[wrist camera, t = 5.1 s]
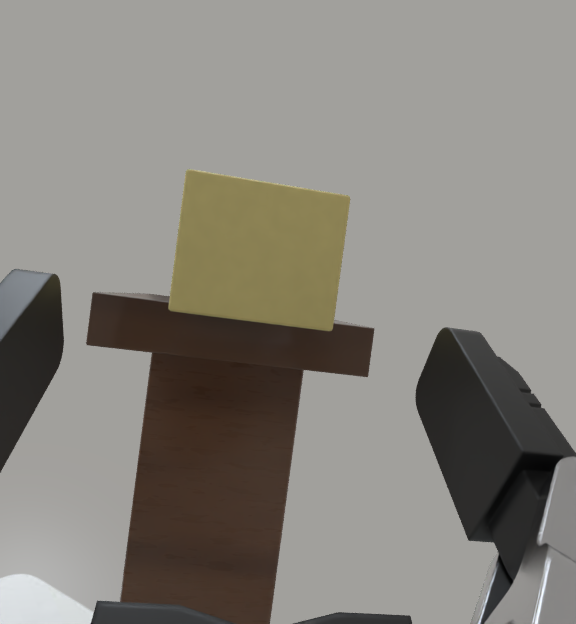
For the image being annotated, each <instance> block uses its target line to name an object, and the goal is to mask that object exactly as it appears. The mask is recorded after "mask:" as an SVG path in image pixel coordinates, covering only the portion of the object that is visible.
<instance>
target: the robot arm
mask: <svg viewBox="0 0 576 624" xmlns="http://www.w3.org/2000/svg"><path fill="white" fill-rule="evenodd" d="M62 320H63V319H62V303H61V287H60V280H59V278H58V276H57V275H56V274H49V273H43V272H35V271H28V270H20V269H14V270H12V271H11V272H10V273H9V274H8V275H7V276H6V277H5V278H4V279H3V281H2V282H1V283H0V472H1V470H2V468H3V467H4V465H5V463H6V461H7V459H8V458H9V456H10V454H11V452H12V450H13V449H14V447H15V445H16V443H17V441H18V440H19V438H20V436H21V434H22V432H23V431H24V429H25V427H26V425H27V423H28V421H29V420H30V418H31V416H32V414H33V413H34V411H35V408H36V407H37V405H38V403H39V402H40V400H41V398H42V396H43V394H44V393H45V391H46V389H47V387H48V385H49V384H50V382H51V380H52V378H53V376H54V375H55V373H56V371H57V369H58V367H59V364H60V361H61V358H62V353H63V345H64V336H63V321H62ZM416 406H417V410H418V413H419V415H420V418H421V420H422V423H423V425H424V428H425V431H426V433H427V436H428V438H429V441H430V443H431V446H432V448H433V451H434V453H435V456H436V459H437V461H438V464H439V466H440V469H441V471H442V474H443V476H444V479H445V482H446V484H447V487H448V489H449V492H450V494H451V497H452V499H453V502H454V505H455V507H456V509H457V512H458V515H459V517H460V520H461V522H462V525H463V527H464V530H465V533H466V535H467V538H468V540H469V541H482V542H494V543H495V545H496V548H497V550H498V552H497V554H496V555H495V557H494V558H493V560H492V562H491V564H490V567H489V570H488V573H487V576H486V579H485V582H484V584H483V588H482V590H481V594H480V596H479V599H478V602H477V605H476V608H475V611H474V615H473V617H472V621H471V624H576V453H575V452H574V450H573V449H572V448H571V446H570V445H569V443H568V442H567V440H566V439H565V437H564V436H563V435H562V433H561V432H560V430H559V429H558V428H557V426H556V425H555V423H554V422H553V421H552V419H551V418H550V416H549V415H548V413H547V412H546V411H545V409H543V408H541V404H540V402H539V401H538V399H537V398H536V397H535V395H534V394H531V390H530V388H529V387H528V385H527V384H526V382H525V381H524V380H523V378H522V377H521V375H520V374H519V373H518V372H517V371H516V370H515V369H513V368H512V367H511V366H510V365H509V364H507V363H506V362H505V361H504V360H502V359H501V358H500V357H497V356H496V354H495V353H494V351H493V350H492V349H491V347H490V346H489V344H488V343H487V341H486V340H485V338H484V337H483V335H482V334H481V333H480V332H476V331H469V330H462V329H454V328H443V329H442V330H441V331H440V332H439V333H438V335H437V337H436V339H435V342H434V344H433V347H432V349H431V352H430V354H429V356H428V359H427V361H426V364H425V366H424V369H423V371H422V373H421V376H420V378H419V381H418V384H417V388H416ZM91 624H236V623H233V622H230V621H227V620H224V619H221V618H218V617H215V616H212V615H209V614H206V613H203V612H200V611H197V610H194V609H190V608H187V607H184V606H181V605H173V604H152V603H131V602H110V601H97V603H96V607H95V611H94V614H93V618H92V622H91ZM294 624H412V621H411V617H410V616H405V615H384V614H383V615H382V614H363V613H342V612H339V613H334V614H330V615H326V616H322V617H318V618H314V619H310V620H306V621H302V622H298V623H294Z"/></svg>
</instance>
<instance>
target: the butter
mask: <svg viewBox="0 0 576 624" xmlns="http://www.w3.org/2000/svg"><path fill="white" fill-rule="evenodd" d="M349 204H350V197H349V196H348V195H342V194H335V193H330V192H324V191H317V190H311V189H306V188H299V187H294V186H287V185H281V184H276V183H269V182H264V181H257V180H251V179H245V178H239V177H234V176H227V175H221V174H215V173H209V172H203V171H198V170H192V169H188V170H187V171H186V175H185V183H184V191H183V199H182V207H181V214H180V222H179V229H178V237H177V245H176V253H175V261H174V269H173V276H172V284H171V292H170V299H169V307H168V308H169V310H170V311H173V312H181V313H189V314H197V315H205V316H213V317H221V318H229V319H237V320H244V321H252V322H260V323H268V324H276V325H284V326H292V327H300V328H308V329H316V330H324V331H332V329H333V324H334V316H335V309H336V301H337V294H338V286H339V279H340V272H341V263H342V257H343V256H342V255H343V249H344V242H345V234H346V226H347V219H348V212H349Z"/></svg>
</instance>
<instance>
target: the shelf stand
mask: <svg viewBox="0 0 576 624" xmlns="http://www.w3.org/2000/svg"><path fill="white" fill-rule="evenodd" d="M169 299H170V297H169V296H161V295H154V294H140V293H103V292H93V294H92V303H91V310H90V319H89V326H88V334H87V342H86V344H87V345H91V346H100V347H108V348H117V349H126V350H134V351H143V352H152V357H151V364H150V372H149V380H148V387H147V395H146V403H145V411H144V418H143V427H142V434H141V442H140V450H139V458H138V465H137V473H136V481H135V488H134V497H133V505H132V512H131V520H130V527H129V536H128V543H127V551H126V559H125V567H124V574H123V582H122V590H121V598H120V602H131V603H152V604H173V605H181V606H184V607H187V608H190V609H194V610H197V611H200V612H203V613H206V614H209V615H212V616H215V617H218V618H221V619H224V620H227V621H230V622H233V623H236V624H270V617H271V611H272V603H273V595H274V588H275V581H276V573H277V565H278V558H279V551H280V543H281V536H282V528H283V521H284V513H285V506H286V498H287V491H288V483H289V476H290V467H291V460H292V452H293V445H294V438H295V431H296V423H297V415H298V407H299V400H300V392H301V385H302V378H303V370H310V371H319V372H328V373H336V374H345V375H353V376H363V377H368V372H369V365H370V357H371V350H372V343H373V334H374V328H369V327H365V326H360V325H356V324H350V323H347V322H342V321H337V320H334V324H333V329H332V331H324V330H316V329H308V328H300V327H292V326H284V325H276V324H268V323H260V322H252V321H244V320H237V319H229V318H221V317H213V316H205V315H197V314H189V313H181V312H173V311H170V310H169V308H168V307H169Z"/></svg>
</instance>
